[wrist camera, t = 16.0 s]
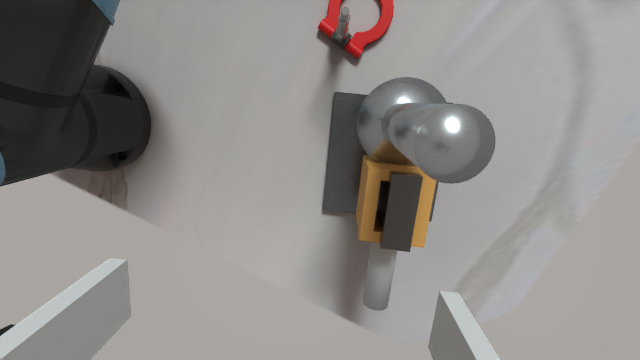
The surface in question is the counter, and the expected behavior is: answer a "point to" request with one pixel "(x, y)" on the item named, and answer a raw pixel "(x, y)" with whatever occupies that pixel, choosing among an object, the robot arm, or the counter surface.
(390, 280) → the bracket head
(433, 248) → the counter surface
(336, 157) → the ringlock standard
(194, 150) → the counter surface
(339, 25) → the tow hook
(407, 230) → the wedge
